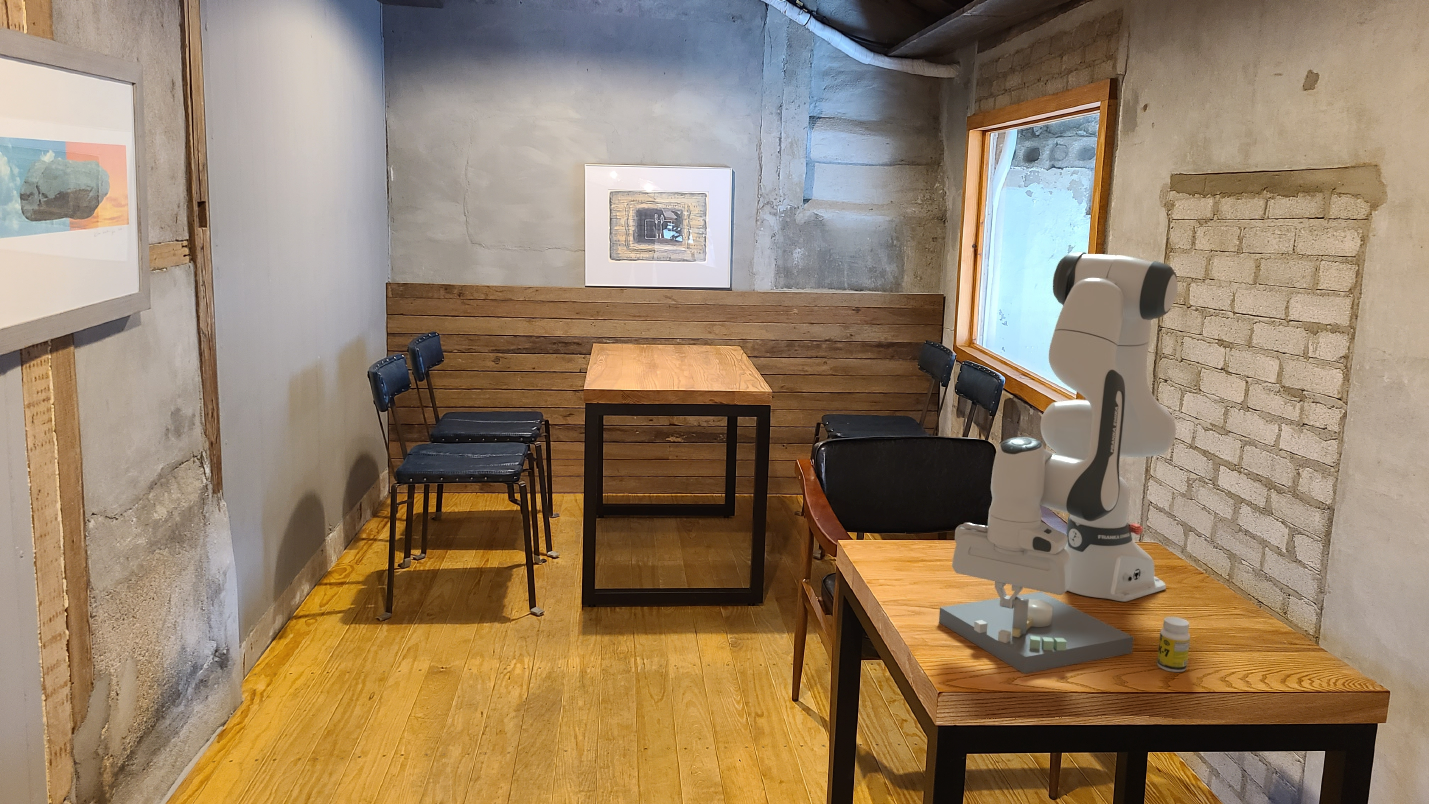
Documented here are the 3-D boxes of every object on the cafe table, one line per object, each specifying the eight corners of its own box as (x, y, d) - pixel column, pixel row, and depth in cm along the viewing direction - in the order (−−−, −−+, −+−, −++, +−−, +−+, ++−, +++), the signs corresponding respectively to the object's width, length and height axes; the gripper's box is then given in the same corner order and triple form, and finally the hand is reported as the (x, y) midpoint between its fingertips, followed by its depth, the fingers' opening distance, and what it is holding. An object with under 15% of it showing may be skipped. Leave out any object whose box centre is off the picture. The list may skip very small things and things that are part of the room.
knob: (1023, 611, 203) (1026, 578, 202) (1055, 619, 199) (1058, 585, 198) (998, 633, 192) (1001, 598, 191) (1031, 641, 189) (1034, 606, 188)
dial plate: (1039, 606, 215) (1041, 583, 214) (1133, 653, 193) (1135, 629, 192) (935, 623, 205) (937, 599, 204) (1021, 675, 183) (1023, 649, 182)
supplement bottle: (1151, 661, 190) (1156, 615, 189) (1177, 661, 191) (1182, 615, 189) (1165, 673, 186) (1170, 626, 184) (1191, 672, 186) (1197, 626, 184)
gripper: (949, 524, 193) (944, 599, 195) (1067, 546, 182) (1060, 625, 185) (962, 516, 198) (956, 589, 201) (1077, 537, 187) (1069, 614, 190)
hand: (1007, 606), depth 193 cm, fingers closed
